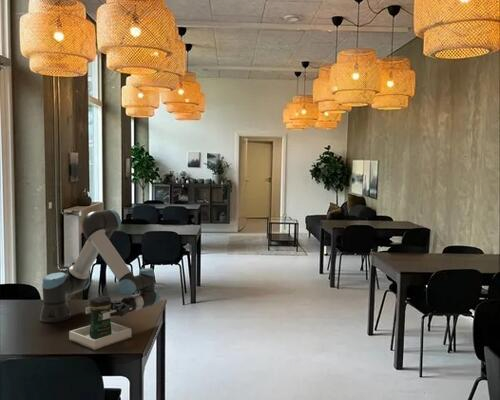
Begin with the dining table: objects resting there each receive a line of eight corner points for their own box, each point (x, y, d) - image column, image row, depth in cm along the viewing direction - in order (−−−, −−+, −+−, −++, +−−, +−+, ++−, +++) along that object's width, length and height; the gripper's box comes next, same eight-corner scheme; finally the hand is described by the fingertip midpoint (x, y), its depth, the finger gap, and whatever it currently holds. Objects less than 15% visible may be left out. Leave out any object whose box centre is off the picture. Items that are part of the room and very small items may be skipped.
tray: (69, 339, 217) (69, 331, 217) (106, 328, 233) (105, 320, 233) (94, 349, 205) (94, 340, 205) (131, 337, 221) (131, 328, 221)
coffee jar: (93, 340, 213) (92, 300, 212) (87, 336, 219) (86, 297, 218) (114, 336, 219) (113, 296, 218) (107, 331, 225) (106, 293, 224)
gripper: (148, 315, 225) (111, 327, 209) (116, 306, 241) (79, 316, 224) (148, 300, 225) (110, 310, 208) (116, 291, 240) (79, 301, 223)
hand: (94, 313), depth 216 cm, fingers open, 13 cm apart
